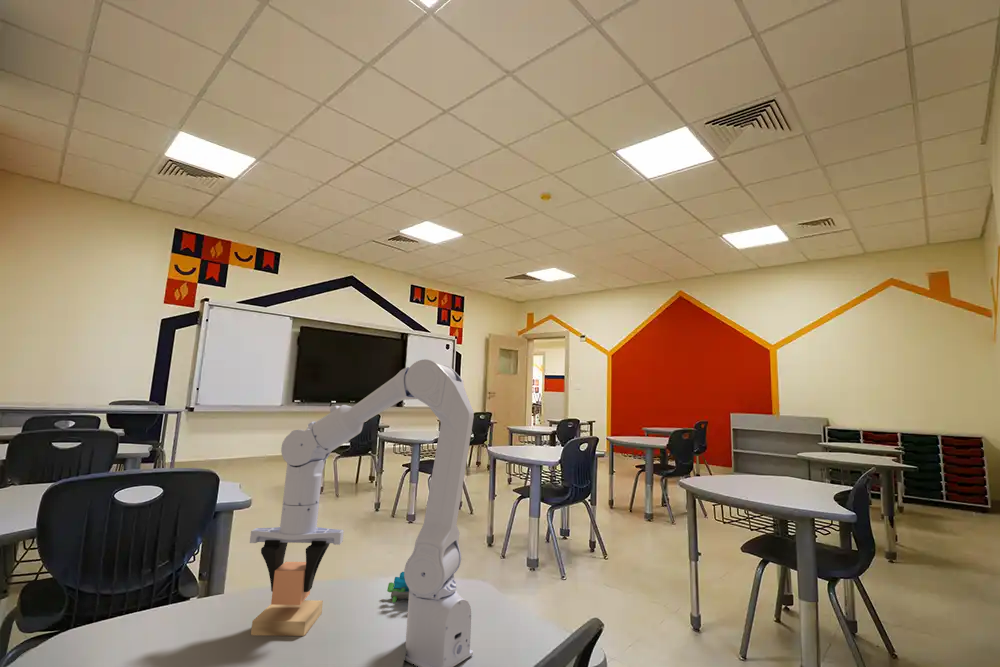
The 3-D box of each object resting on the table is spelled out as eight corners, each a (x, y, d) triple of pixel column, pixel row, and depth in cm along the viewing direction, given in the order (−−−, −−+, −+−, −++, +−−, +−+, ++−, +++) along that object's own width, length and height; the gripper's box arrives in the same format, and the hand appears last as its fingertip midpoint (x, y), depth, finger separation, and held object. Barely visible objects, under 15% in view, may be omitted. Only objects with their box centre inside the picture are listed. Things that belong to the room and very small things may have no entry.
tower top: (321, 613, 78) (322, 600, 78) (304, 635, 70) (305, 621, 71) (274, 612, 78) (275, 599, 78) (250, 635, 70) (252, 620, 70)
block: (309, 593, 77) (312, 562, 78) (300, 604, 73) (303, 571, 74) (282, 593, 77) (285, 561, 78) (271, 604, 72) (274, 570, 73)
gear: (452, 591, 89) (440, 564, 83) (448, 625, 84) (435, 598, 78) (398, 595, 90) (382, 568, 85) (391, 628, 85) (374, 601, 80)
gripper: (350, 499, 82) (343, 581, 79) (267, 497, 81) (257, 580, 78) (339, 507, 75) (331, 597, 72) (248, 505, 74) (237, 596, 71)
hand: (291, 589), depth 75 cm, fingers closed on block, 4 cm apart
